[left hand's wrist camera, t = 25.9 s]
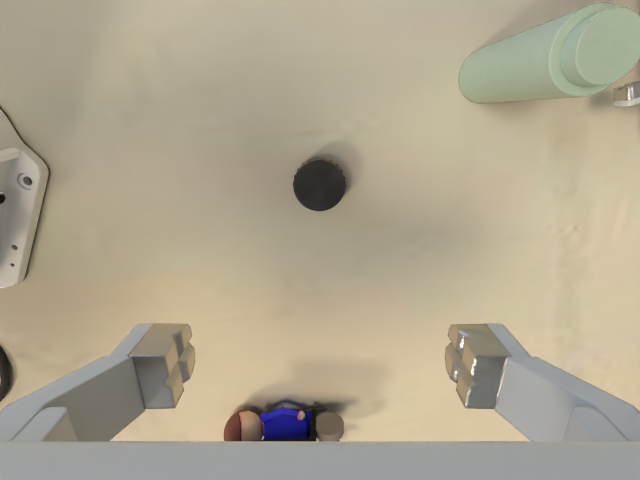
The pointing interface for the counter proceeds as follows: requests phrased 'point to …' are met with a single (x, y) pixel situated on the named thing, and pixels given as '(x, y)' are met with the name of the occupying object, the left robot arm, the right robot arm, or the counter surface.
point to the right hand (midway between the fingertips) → (617, 33)
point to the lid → (319, 184)
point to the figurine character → (284, 426)
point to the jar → (556, 57)
